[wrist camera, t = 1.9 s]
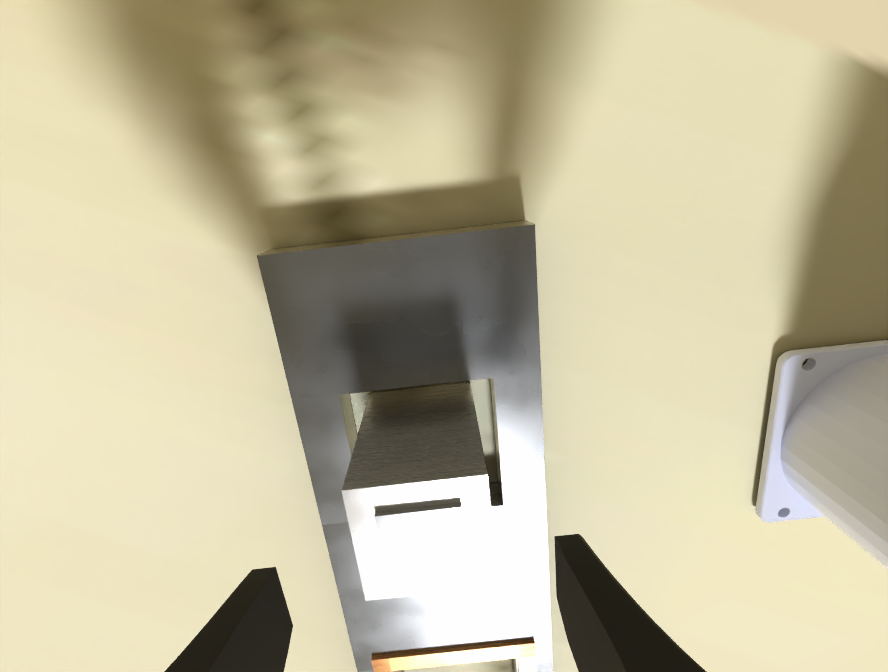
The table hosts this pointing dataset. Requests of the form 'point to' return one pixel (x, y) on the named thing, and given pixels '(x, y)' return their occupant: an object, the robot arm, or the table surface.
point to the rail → (416, 364)
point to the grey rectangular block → (420, 495)
